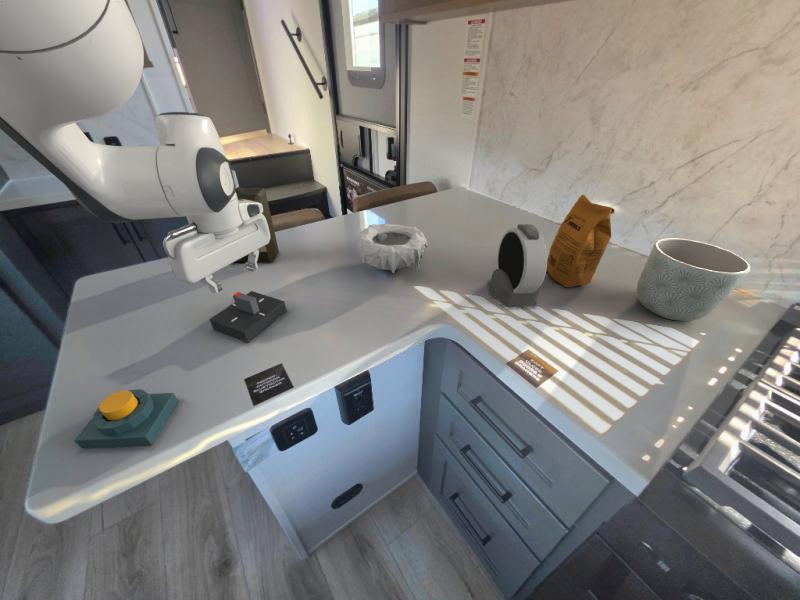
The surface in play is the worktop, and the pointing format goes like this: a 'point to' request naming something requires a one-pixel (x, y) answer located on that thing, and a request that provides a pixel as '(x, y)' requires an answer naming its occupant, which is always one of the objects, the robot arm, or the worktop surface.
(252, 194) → the bottle
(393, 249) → the bowl
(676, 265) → the planter
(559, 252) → the coffee package
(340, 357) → the worktop surface
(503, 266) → the alarm clock
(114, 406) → the trigger button
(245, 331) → the dark grey flat block
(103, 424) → the teal button mount
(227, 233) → the robot arm
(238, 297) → the grey rectangular block
